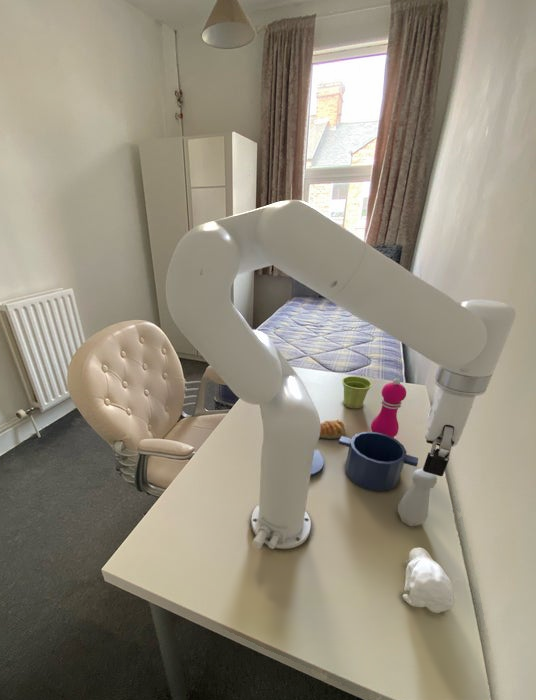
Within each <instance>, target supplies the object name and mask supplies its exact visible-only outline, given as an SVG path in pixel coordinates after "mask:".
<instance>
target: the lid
mask: <svg viewBox="0 0 536 700" xmlns="http://www.w3.org/2000/svg"><path fill="white" fill-rule="evenodd" d="M324 464H325V459H324V456H323V455H322V453H321V452H320V451H319V450H318V449H316V448H315V451H314V455H313V460H312V466H311V475H310V477H312V476H314V475H317V474H318V473H320V472H321V471H322V469H323V467H324Z"/></svg>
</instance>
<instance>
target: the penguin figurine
mask: <svg viewBox="0 0 536 700" xmlns="http://www.w3.org/2000/svg"><path fill="white" fill-rule="evenodd" d="M405 562H406V568H405V582H404V583H405V584H404V589H403V590H404V591H405V592H407V591H409V590H410V591H409V594H408V593H403V594H402V598H403V600H404V601H405V602H406V603H407V604H409V605H410V606H411V607H417V608H425V607H426V608H427V610H429V611H430V612H432V613H434V614H440V613H442V612H446V611H448V610H449V609H450V608H452V607H453V606H454V604H455V598H454V589H453V585H452V582H451V579H450V578H449V576H448V575H447V573H446V572H445V571H444V569H443V568H442V566H441V565H440V563H438V562H437V561H435V560H434V559H433V558H432V556H431V554H430V553H429V552H428V551H427V550H426V549H425V548H423V547H419V546H418V547H414V548H412V549H411V550H410V551H409V554H408V558H406V559H405Z"/></svg>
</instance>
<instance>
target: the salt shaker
mask: <svg viewBox="0 0 536 700" xmlns="http://www.w3.org/2000/svg"><path fill="white" fill-rule="evenodd" d="M411 481H412V482H411V484H410V485H409V487H408V489H407V490H406V492H405V494H404V495H403V497H402V498H401V499H400V501H399V502H398V504H397V513H398V515H399V518H400V521H401V522H402V523H404V524H406V525H407V526H408V527H416V526H417V527H418V526H420V525H422V524H423V523H425V522H426V521H427V519H428V517H429V506H430V493H431V489H434V488H435V486H436V484H437V482H438V477H437V475H434V474H431V473H427V472H424V471H423V468H417V469H415V470H414V471H413V473H412V475H411Z"/></svg>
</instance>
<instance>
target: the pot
mask: <svg viewBox="0 0 536 700" xmlns="http://www.w3.org/2000/svg"><path fill="white" fill-rule="evenodd" d="M338 445H341V446H344V447H348V452H347V457H346V461H345V472H346V476H347V477H348V478H349V480H351V481H352V482H353V483H354V484H356V485H357V486H358V487H361V488H363V489H365V490H369V491H373V492H387V491H390V490H392V489H394V488H395V487H396V486H397V485H398V483H399V480H400V477H401V474H402V470H403V467H404V464H406V465H409V466H412V467H415V468H417V467H418V463H419V457H416V456H414V455H410V454H407V452H408V451H407V450H406V448H405V445H403V444H402V443H401V442H400V441H399V440H398V439H397V438H395V437H394V438H392V437H390V436H388V435H385V434H382V433H378V432H372V431H362V432H358V433H356V434H355V435H353V436H352V437H351V438H350V437H347V436H344V437H343V436H341V438H339V440H338Z"/></svg>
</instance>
